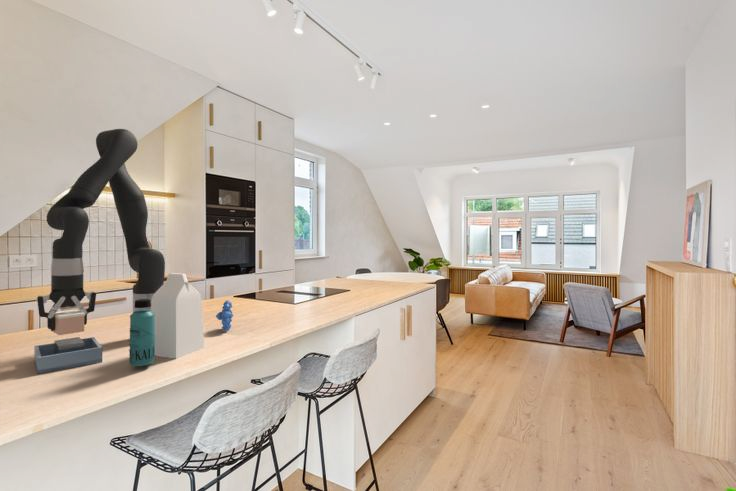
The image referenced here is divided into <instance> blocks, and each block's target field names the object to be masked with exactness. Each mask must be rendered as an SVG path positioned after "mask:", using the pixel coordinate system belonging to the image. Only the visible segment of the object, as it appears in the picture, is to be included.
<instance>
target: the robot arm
mask: <svg viewBox="0 0 736 491" xmlns="http://www.w3.org/2000/svg"><path fill="white" fill-rule="evenodd" d="M95 145H96V149H97V153H98V155H99V156H100V157H99V159H97V161H96V162H94V163H93V164H92V165H91V166H90V167H88V168H87V169H86V170H85V171H83V172H82V173H81V175H80V176H79V177H78V178H77V180H76V181H75V182H74V184H73V185H72V187H71V188H70V190H69V191H68V192H67V193H66V194H65V195H63V196H62V197H61V198H60V199H58V200H57V201H56V202H55V203H54V204H53V205H52V206H51V207H50V208H49V210H48V212H47V214H46V223H47V225H48V226H49V227H51V229H53V230H57V231H63V232H62V234H61V237H59V238H56V239H54V240H53V241H52V248H51V249H52V260H51V266H50V268H51V269H50V274H51V275H50V276H51V278H50V280H51V281H50V286H51V287H50V293H49V294H47V295H37V297H36V300H37V302H36V303H37V308H38V310H37V311H38V315H39V317H40V318H46V320H47V329H48V330H50V332H52V331H54V317H53V316H54V314H55V313H56V312H59V309H62V308H68V307H69V308H73V307H77V310H78V311H81V312H83V313H85V316H84V326H85V325H87V323H88V314H89V313H93V312H94V311H95V307H96V298H97V293H96V292H95V291H91V292H86V291H85V290H84V272H85V269H84V261H83V244H84V241H85V238H86V235H87V232H88V229H89V225H90V219H89V215H88V213H87V212H86V210H84V209H86V208H90V207H92V206H93V205H95V203H96V201H97V200H98V199H99V196H100V195H101V194H102V192H104V191H103V190H104V189H105V187H106V186H107V184H108V183H109V186H110V189H111V192H112V195H113V201H114V205H115V209H116V212H117V215H118V216H117V217H118V218H119V222H120V226H121V230H122V232H123V236H124V237H123V238H124V240H125V247H126V255H127V260H128V264H129V267H130V269H132V270H133V271H134V272H135V273H138V275H137V282H136V283H134V284H133V286H132V313H133V312H135V311H139V310H151V307H147V308H135V307H134V305H135V301H136V300H140V299H150V301H151V300H152V297H153V295H154V294H155V293H156V291H157V290H158V289H159V288H160V287H161V286H162V285H163V284H164V283H165V276H166V274H165V273H166V272H165V271H166V262H165V261H166V260H165V257H164V254H163V253H162V252H161V251H159V250H158V249H154V248H151V247H150V244H149V242H148V238H147V224H148V218H149V217H148V216H149V213H148V212H149V211H148V206H147V203H146V199H145V195H144V193H143V191H142V190H141V188H140V187H139V185H138V184H137V183H136V181H134V179H133V178H132V176H130V174H129V171H128V170H127V168H126V167H127V166H126V162H127V161H128V160H129V159H130V158H131V157H132V156H133V155H134V154H135V153H136V151H137V149H138V145H139V144H138V139H137V136H136V135H135V134H134V133H133V132H132V131H130V130H128V129H127V128H125V129H124V128H116V129H115V128H114V129H109V130H104V131H101V132H99V133H98V134H97V135H96V138H95ZM84 297H86V298H87V299H88V300H89V302H88V308H85V307H84V305H83V304H82V300H83V299H84ZM48 300H51V301H52V303H53V305H52V306H51V308H50V309H49V311H48V312H46V311H45V304H46V303H47V302H48Z"/></svg>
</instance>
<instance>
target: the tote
mask: <svg viewBox="0 0 736 491" xmlns="http://www.w3.org/2000/svg"><path fill="white" fill-rule="evenodd" d="M81 339H82V340H83V341H84V350H79V351H73V352H67V353H61V354H55V355H54V342H53V343H52V342H51V343H45V344H38V345H34V348H33V349H34V354H33V355H34V364H35V367H36V368H35V369H36V373H37V375H42V374H46V373H52V372H57V371H62V370H68V369H73V368H78V367H83V366H88V365H94V364H99V363H103V346H102V345H101V344H100V342H99V341H98V340H97V339H96V338H95V337H92V336H91V337H84V338H81Z"/></svg>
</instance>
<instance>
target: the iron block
mask: <svg viewBox="0 0 736 491" xmlns="http://www.w3.org/2000/svg"><path fill="white" fill-rule="evenodd" d="M82 339H83V338H81V337H80V336H77V337H69V338H64V339H57V340H54V341H53V343H54V355H55V354H61V353H67V352H73V351H79V350H84V341H83V340H82Z"/></svg>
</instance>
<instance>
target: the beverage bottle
mask: <svg viewBox="0 0 736 491" xmlns="http://www.w3.org/2000/svg"><path fill="white" fill-rule="evenodd" d="M134 307H135V308H147V307H151V301H150V299H140V300H136V301H135V305H134ZM129 319H130V321H129V328H128V329H129V349H128V352H129V353H128V356H129V357H128V359H129V360H128V362H129V364H130V365H131V367H132V366H133V367H141V366H147V365H150V364H152V363H154V362H155V358H156V356H155V314H154V313H153V312H152V311H151V310H139V311H135V312H133V311H132V313H131V314H130V315H129Z"/></svg>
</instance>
